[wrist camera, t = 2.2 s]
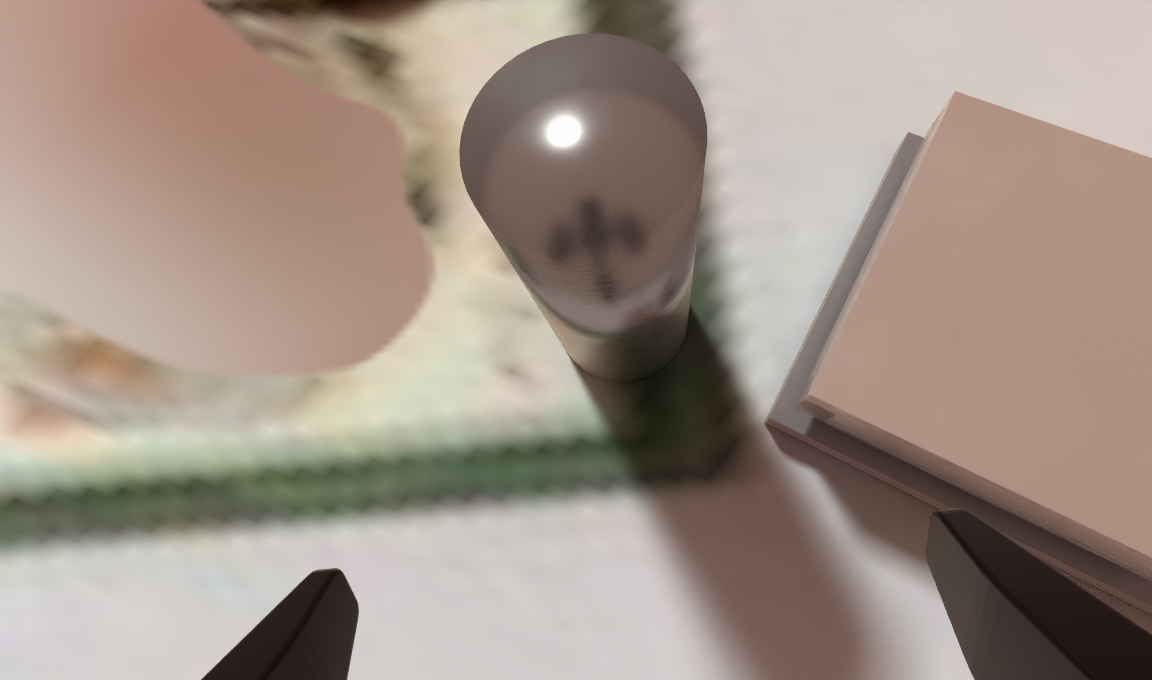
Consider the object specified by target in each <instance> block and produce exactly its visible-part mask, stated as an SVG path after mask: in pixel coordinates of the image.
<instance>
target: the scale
mask: <svg viewBox="0 0 1152 680" xmlns="http://www.w3.org/2000/svg"><path fill="white" fill-rule="evenodd" d="M923 139H924V138H923V137H920V136H917V135H915V134H912V133H909V132H908V133H907V135H906V137H905V138H904V140H903V141H902V143H901V144H900V146H899V148H898V149H897V151H896V153H895V155H894V157H893V159H892V161H891V163H890V165H889V168H888V170H887V172H886V174H885V176H884V178H883V180H882V182H881V184H880V186H879V188H878V190H877V192H876V194H875V196H874V198H873V200H872V202H871V205H870V207H869V209H868V211H867V213H866V215H865V217H864V219H863V221H862V223H861V225H860V227H859V229H858V231H857V233H856V235H855V237H854V240H853V242H852V244H851V246H850V248H849V250H848V252H847V254H846V256H845V258H844V260H843V262H842V264H841V266H840V268H839V270H838V272H837V274H836V277H835V279H834V281H833V283H832V285H831V287H830V289H829V291H828V293H827V295H826V297H825V299H824V301H823V303H822V305H821V307H820V309H819V311H818V314H817V316H816V318H815V320H814V322H813V324H812V326H811V328H810V330H809V332H808V334H807V336H806V338H805V340H804V342H803V344H802V346H801V348H800V351H799V353H798V355H797V357H796V359H795V361H794V363H793V365H792V367H791V369H790V371H789V373H788V375H787V377H786V379H785V381H784V383H783V386H782V388H781V390H780V392H779V394H778V396H777V398H776V400H775V402H774V404H773V406H772V408H771V410H770V412H769V414H768V416H767V418H766V420H765V423H766V424H768V425H770V426H772V427H774V428H776V429H778V430H780V431H782V432H784V433H786V434H788V435H790V436H792V437H794V438H796V439H798V440H800V441H802V442H804V443H806V444H808V445H810V446H812V447H814V448H816V449H818V450H820V451H823V452H825V453H827V454H829V455H831V456H833V457H835V458H837V459H839V460H841V461H843V462H845V463H847V464H849V465H851V466H853V467H855V468H857V469H859V470H861V471H863V472H865V473H867V474H869V475H871V476H873V477H875V478H877V479H879V480H881V481H883V482H885V483H887V484H889V485H891V486H893V487H895V488H897V489H899V490H901V491H903V492H905V493H907V494H909V495H911V496H913V497H915V498H917V499H919V500H921V501H923V502H925V503H927V504H929V505H931V506H933V507H935V508H937V509H939V510H944V509H954V508H963V509H966V510H968V511H970V512H971V513H973V514H974V515H976V516H977V517H979V518H980V519H982V520H983V521H985V522H986V523H988V524H989V525H991V526H992V527H994V528H995V529H996V530H998V531H999V532H1001V533H1002V534H1004V535H1005V536H1007V537H1008V538H1010V539H1011V540H1013V541H1014V542H1016V543H1017V544H1019V545H1020V546H1022V547H1023V548H1025V549H1026V550H1028V551H1029V552H1031V553H1032V554H1034V555H1035V556H1037V557H1038V558H1039V559H1041V560H1042V561H1044V562H1046V563H1048V564H1050V565H1052V566H1054V567H1056V568H1058V569H1060V570H1062V571H1064V572H1066V573H1068V574H1070V575H1072V576H1074V577H1076V578H1078V579H1080V580H1082V581H1084V582H1086V583H1088V584H1090V585H1092V586H1094V587H1096V588H1098V589H1100V590H1103V591H1105V592H1107V593H1109V594H1111V595H1113V596H1115V597H1117V598H1119V599H1121V600H1123V601H1125V602H1127V603H1129V604H1131V605H1133V606H1135V607H1137V608H1139V609H1141V610H1143V611H1145V612H1147V613H1149V614H1151V615H1152V581H1150V580H1148V579H1146V578H1144V577H1142V576H1140V575H1138V574H1136V573H1133V572H1131V571H1129V570H1127V569H1125V568H1123V567H1121V566H1119V565H1117V564H1115V563H1113V562H1111V561H1109V560H1107V559H1105V558H1103V557H1100V556H1098V555H1096V554H1094V553H1092V552H1090V551H1088V550H1086V549H1084V548H1082V547H1080V546H1078V545H1076V544H1074V543H1072V542H1070V541H1067V540H1065V539H1063V538H1061V537H1059V536H1057V535H1055V534H1053V533H1051V532H1049V531H1047V530H1045V529H1043V528H1041V527H1039V526H1037V525H1034V524H1032V523H1030V522H1028V521H1026V520H1024V519H1022V518H1020V517H1018V516H1016V515H1014V514H1012V513H1010V512H1008V511H1006V510H1004V509H1001V508H999V507H997V506H995V505H993V504H991V503H989V502H987V501H985V500H983V499H981V498H979V497H977V496H975V495H973V494H971V493H969V492H966V491H964V490H962V489H960V488H958V487H956V486H954V485H952V484H950V483H948V482H946V481H944V480H942V479H940V478H938V477H936V476H933V475H931V474H929V473H927V472H925V471H923V470H921V469H919V468H917V467H915V466H913V465H911V464H909V463H907V462H905V461H903V460H900V459H898V458H896V457H894V456H892V455H890V454H888V453H886V452H884V451H882V450H880V449H878V448H876V447H874V446H872V445H870V444H867V443H865V442H863V441H861V440H859V439H857V438H855V437H853V436H851V435H849V434H847V433H845V432H843V431H841V430H839V429H837V428H834V427H832V426H830V425H828V424H826V423H824V422H822V421H820V420H818V419H816V418H814V417H812V416H810V415H808V414H806V413H804V412H801V411H799V410H797V409H795V406H796V403H797V401H798V399H799V397H800V395H801V393H802V391H803V389H804V387H805V385H806V383H807V381H808V378H809V376H810V374H811V372H812V370H813V368H814V366H815V364H816V362H817V360H818V358H819V356H820V353H821V351H822V349H823V347H824V345H825V343H826V341H827V339H828V337H829V335H830V333H831V330H832V328H833V326H834V324H835V322H836V320H837V318H838V316H839V314H840V312H841V310H842V308H843V305H844V303H845V301H846V299H847V297H848V295H849V293H850V291H851V289H852V287H853V285H854V283H855V280H856V278H857V276H858V274H859V272H860V270H861V268H862V266H863V264H864V262H865V260H866V258H867V255H868V253H869V251H870V249H871V247H872V245H873V243H874V241H875V239H876V237H877V235H878V233H879V230H880V228H881V226H882V224H883V222H884V220H885V218H886V216H887V214H888V212H889V210H890V208H891V205H892V203H893V201H894V199H895V197H896V195H897V193H898V191H899V189H900V187H901V185H902V183H903V180H904V178H905V176H906V174H907V172H908V170H909V168H910V166H911V164H912V162H913V160H914V158H915V155H916V153H917V151H918V149H919V147H920V145H921V143H922V141H923Z"/></svg>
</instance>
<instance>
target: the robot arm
mask: <svg viewBox="0 0 1152 680" xmlns="http://www.w3.org/2000/svg"><path fill="white" fill-rule="evenodd" d="M926 555H927V561H928V565H929V567H930V570H931V573H932V575H933V578H934V580H935V583H936V586H937V588H938V591H939V593H940V596H941V598H942V601H943V603H944V606H945V609H946V611H947V614H948V616H949V619H950V621H951V624H952V627H953V629H954V632H955V634H956V637H957V639H958V642H959V645H960V647H961V650H962V652H963V655H964V657H965V659H966V662H967V664H968V667H969V669H970V671H971V673H972V675H973V677H974V679H975V680H1152V634H1151V633H1149V632H1148V631H1146V630H1145V629H1143V628H1142V627H1140V626H1139V625H1137V624H1136V623H1134V622H1133V621H1131V620H1130V619H1128V618H1127V617H1126V616H1124V615H1123V614H1121V613H1120V612H1118V611H1117V610H1115V609H1114V608H1112V607H1111V606H1109V605H1108V604H1106V603H1105V602H1103V601H1102V600H1100V599H1099V598H1097V597H1096V596H1094V595H1093V594H1091V593H1090V592H1088V591H1087V590H1085V589H1084V588H1083V587H1081V586H1080V585H1078V584H1077V583H1075V582H1074V581H1072V580H1071V579H1069V578H1068V577H1066V576H1065V575H1063V574H1062V573H1060V572H1059V571H1057V570H1056V569H1054V568H1053V567H1051V566H1050V565H1048V564H1047V563H1045V562H1044V561H1042V560H1041V559H1039V558H1038V557H1037V556H1035V555H1034V554H1032V553H1031V552H1029V551H1028V550H1026V549H1025V548H1023V547H1022V546H1020V545H1019V544H1017V543H1016V542H1014V541H1013V540H1011V539H1010V538H1008V537H1007V536H1005V535H1004V534H1002V533H1001V532H999V531H998V530H996V529H995V528H994V527H992V526H991V525H989V524H988V523H986V522H985V521H983V520H982V519H980V518H979V517H977V516H976V515H974V514H973V513H971V512H970V511H968V510H966V509H963V508H954V509H944V510H937V511H935V512H933V514H932V516H931V520H930V527H929V534H928V541H927V548H926ZM358 615H359V608H358V602H357V600H356V598H355V596H354V593H353V591H352V589H351V587H350V585H349V583H348V581H347V579H346V577H345V575H344V574H343V572H342V571H341V570H339V569H337V568H332V569H322V570H316V571H313V572H312V573H310V574H309V575H308V576H307V577H306V578H305V579H304V580H303V581H302V582H301V583H300V584H299V585H298V586H297V587H296V588H295V589H294V590H293V591H292V592H291V593H290V594H289V595H288V596H286V597H285V598H284V599H283V600H282V601H281V602H280V603H279V604H278V605H277V606H276V607H275V608H274V609H273V610H272V611H271V612H270V613H269V614H268V615H267V616H266V617H265V618H264V619H263V620H262V621H261V622H260V623H259V624H258V625H257V626H256V627H255V628H254V629H253V630H252V631H251V632H250V633H249V634H247V635H246V636H245V637H244V638H243V639H242V640H241V641H240V642H239V643H238V644H237V645H236V646H235V647H234V648H233V649H232V650H231V651H230V652H229V653H228V654H227V655H226V656H225V657H224V658H223V659H222V660H221V661H220V662H219V663H218V664H217V665H216V666H215V667H214V668H213V669H212V670H211V671H210V672H208V673H207V674H206V675H205V676H204V677H203V678H202V679H201V680H347V677H348V671H349V666H350V660H351V655H352V649H353V644H354V638H355V633H356V627H357V622H358Z"/></svg>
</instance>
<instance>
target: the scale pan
mask: <svg viewBox="0 0 1152 680" xmlns="http://www.w3.org/2000/svg"><path fill="white" fill-rule="evenodd" d="M795 409H797V410H799V411H801V412H804V413H806V414H808V415H810V416H812V417H814V418H816V419H818V420H820V421H822V422H824V423H826V424H828V425H830V426H832V427H834V428H837V429H839V430H841V431H843V432H845V433H847V434H849V435H851V436H853V437H855V438H857V439H859V440H861V441H863V442H865V443H867V444H870V445H872V446H874V447H876V448H878V449H880V450H882V451H884V452H886V453H888V454H890V455H892V456H894V457H896V458H898V459H900V460H903V461H905V462H907V463H909V464H911V465H913V466H915V467H917V468H919V469H921V470H923V471H925V472H927V473H929V474H931V475H933V476H936V477H938V478H940V479H942V480H944V481H946V482H948V483H950V484H952V485H954V486H956V487H958V488H960V489H962V490H964V491H966V492H969V493H971V494H973V495H975V496H977V497H979V498H981V499H983V500H985V501H987V502H989V503H991V504H993V505H995V506H997V507H999V508H1001V509H1004V510H1006V511H1008V512H1010V513H1012V514H1014V515H1016V516H1018V517H1020V518H1022V519H1024V520H1026V521H1028V522H1030V523H1032V524H1034V525H1037V526H1039V527H1041V528H1043V529H1045V530H1047V531H1049V532H1051V533H1053V534H1055V535H1057V536H1059V537H1061V538H1063V539H1065V540H1067V541H1070V542H1072V543H1074V544H1076V545H1078V546H1080V547H1082V548H1084V549H1086V550H1088V551H1090V552H1092V553H1094V554H1096V555H1098V556H1100V557H1103V558H1105V559H1107V560H1109V561H1111V562H1113V563H1115V564H1117V565H1119V566H1121V567H1123V568H1125V569H1127V570H1129V571H1131V572H1133V573H1136V574H1138V575H1140V576H1142V577H1144V578H1146V579H1148V580H1150V581H1152V158H1150V157H1147V156H1144V155H1141V154H1138V153H1135V152H1132V151H1129V150H1126V149H1123V148H1120V147H1117V146H1114V145H1111V144H1108V143H1105V142H1103V141H1100V140H1097V139H1094V138H1091V137H1088V136H1085V135H1082V134H1079V133H1076V132H1073V131H1070V130H1067V129H1064V128H1061V127H1059V126H1056V125H1053V124H1050V123H1047V122H1044V121H1041V120H1038V119H1035V118H1032V117H1029V116H1026V115H1023V114H1020V113H1017V112H1015V111H1012V110H1009V109H1006V108H1003V107H1000V106H997V105H994V104H991V103H988V102H985V101H982V100H979V99H976V98H973V97H970V96H968V95H965V94H962V93H959V92H956V91H955V92H954V94H953V95H952V97H951V98H950V100H949V101H948V103H947V104H946V106H945V107H944V108H943V110H942V111H941V113H940V114H939V116H938V117H937V119H936V120H935V122H934V123H933V125H932V126H931V127H930V129H929V130H928V132H927V133H926V135H925V137H924V139H923V141H922V143H921V145H920V147H919V149H918V151H917V153H916V155H915V158H914V160H913V162H912V164H911V166H910V168H909V170H908V172H907V174H906V176H905V178H904V180H903V183H902V185H901V187H900V189H899V191H898V193H897V195H896V197H895V199H894V201H893V203H892V205H891V208H890V210H889V212H888V214H887V216H886V218H885V220H884V222H883V224H882V226H881V228H880V230H879V233H878V235H877V237H876V239H875V241H874V243H873V245H872V247H871V249H870V251H869V253H868V255H867V258H866V260H865V262H864V264H863V266H862V268H861V270H860V272H859V274H858V276H857V278H856V280H855V283H854V285H853V287H852V289H851V291H850V293H849V295H848V297H847V299H846V301H845V303H844V305H843V308H842V310H841V312H840V314H839V316H838V318H837V320H836V322H835V324H834V326H833V328H832V330H831V333H830V335H829V337H828V339H827V341H826V343H825V345H824V347H823V349H822V351H821V353H820V356H819V358H818V360H817V362H816V364H815V366H814V368H813V370H812V372H811V374H810V376H809V378H808V381H807V383H806V385H805V387H804V389H803V391H802V393H801V395H800V397H799V399H798V401H797V403H796V406H795Z"/></svg>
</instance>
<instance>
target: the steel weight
mask: <svg viewBox="0 0 1152 680" xmlns="http://www.w3.org/2000/svg"><path fill="white" fill-rule="evenodd" d="M706 147H707V125H706V118H705V113H704V109H703V106H702V103H701V100H700V98H699V96H698V94H697V92H696V90H695V88H694V86H693V84H692V83H691V82H690V80H689V79H688V77H687V76H686V74H685V73H684V72H683V71H682V70H681V69H680V68H679V67H678V66H677V65H676V64H675V63H674V62H673V61H671V60H670V59H669V58H668V57H667V56H665V55H664V54H662V53H661V52H659V51H657V50H656V49H654V48H652V47H650V46H648V45H646V44H644V43H641V42H639V41H636V40H633V39H629V38H626V37H622V36H616V35H610V34H596V33H590V34H576V35H570V36H564V37H560V38H557V39H553V40H550V41H546V42H544V43H542V44H539V45H537V46H534V47H532V48H530V49H528V50H526V51H525V52H523V53H521V54H519V55H518V56H516V57H515V58H513V59H512V60H510V61H509V62H508V63H506V64H505V65H504V66H503V67H502V68H501V69H499V70H498V71H497V72H496V73H495V74H494V75H493V76H492V77H491V78H490V79H489V81H488V82H487V83H486V84H485V85H484V87H483V88H482V89H481V91H480V92H479V94H478V95H477V96H476V98H475V100H474V102H473V104H472V106H471V107H470V109H469V112H468V115H467V117H466V120H465V122H464V126H463V130H462V134H461V141H460V167H461V172H462V177H463V181H464V184H465V187H466V189H467V192H468V194H469V196H470V198H471V200H472V202H473V204H474V206H475V207H476V209H477V210H478V212H479V213H480V215H481V217H482V218H483V220H484V221H485V223H486V225H487V226H488V228H489V229H490V231H491V232H492V234H493V236H494V237H495V239H496V240H497V242H498V244H499V245H500V247H501V248H502V250H503V252H504V253H505V255H506V256H507V258H508V259H509V261H510V263H511V264H512V266H513V267H514V269H515V271H516V272H517V274H518V275H519V277H520V278H521V280H522V282H523V283H524V285H525V286H526V288H527V290H528V291H529V293H530V294H531V296H532V298H533V299H534V301H535V302H536V304H537V305H538V307H539V309H540V310H541V312H542V313H543V315H544V317H545V318H546V320H547V321H548V323H549V324H550V326H551V328H552V329H553V331H554V332H555V334H556V336H557V337H558V339H559V340H560V342H561V343H562V345H563V347H564V348H565V350H566V351H567V353H568V354H569V356H570V357H571V358H572V360H573V361H574V362H575V363H576V364H577V365H578V366H580V367H581V368H582V369H583V370H585V371H586V372H588V373H590V374H591V375H594V376H596V377H598V378H601V379H605V380H609V381H617V382H626V381H634V380H638V379H642V378H645V377H647V376H650V375H652V374H654V373H655V372H657V371H659V370H660V369H662V368H663V367H664V366H665V365H667V364H668V363H669V362H670V361H671V360H672V358H673V357H674V356H675V355H676V353H677V352H678V350H679V349H680V347H681V345H682V343H683V340H684V338H685V334H686V331H687V324H688V315H689V306H690V296H691V287H692V278H693V268H694V259H695V250H696V240H697V231H698V222H699V213H700V203H701V194H702V185H703V175H704V166H705V157H706Z"/></svg>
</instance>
